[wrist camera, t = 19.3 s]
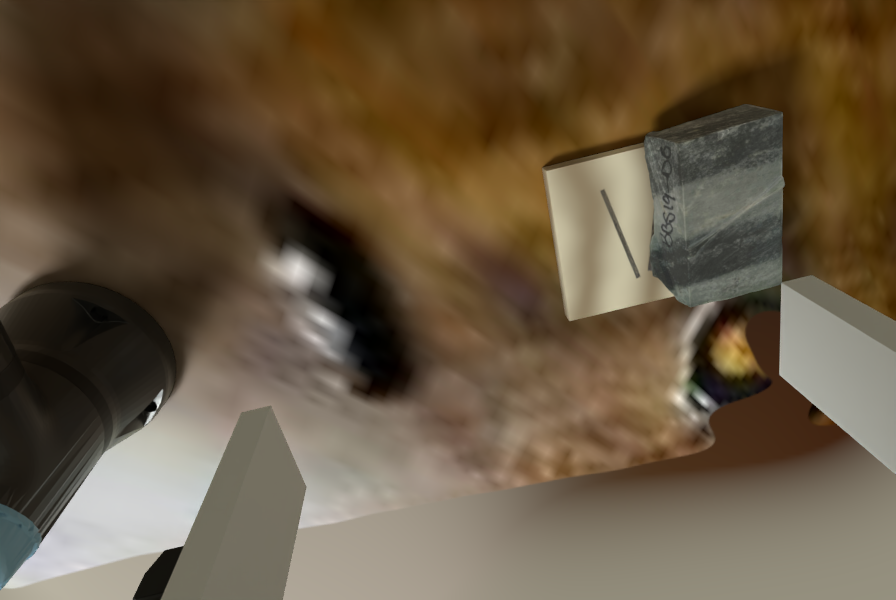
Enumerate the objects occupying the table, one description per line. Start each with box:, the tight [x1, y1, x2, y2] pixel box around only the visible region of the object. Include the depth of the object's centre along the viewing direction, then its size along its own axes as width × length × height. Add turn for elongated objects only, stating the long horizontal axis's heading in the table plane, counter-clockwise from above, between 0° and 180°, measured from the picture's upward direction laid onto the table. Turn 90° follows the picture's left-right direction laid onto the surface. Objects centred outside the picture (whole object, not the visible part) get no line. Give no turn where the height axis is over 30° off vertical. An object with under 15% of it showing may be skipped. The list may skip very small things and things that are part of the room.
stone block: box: [644, 104, 785, 307], centre depth 46 cm, size 9×14×5 cm, turn 15°
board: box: [542, 143, 674, 321], centre depth 49 cm, size 17×14×2 cm
